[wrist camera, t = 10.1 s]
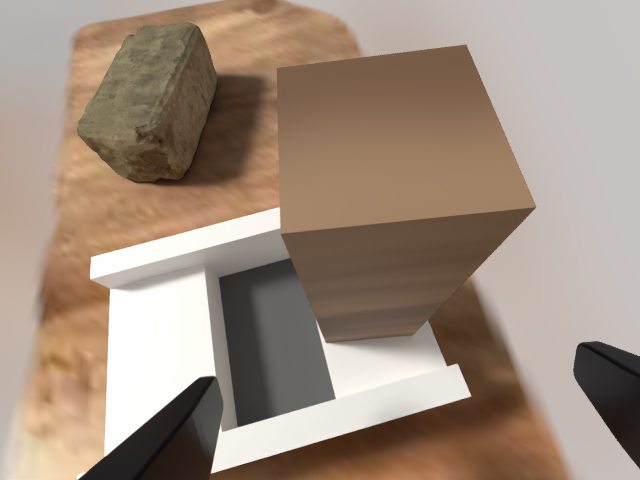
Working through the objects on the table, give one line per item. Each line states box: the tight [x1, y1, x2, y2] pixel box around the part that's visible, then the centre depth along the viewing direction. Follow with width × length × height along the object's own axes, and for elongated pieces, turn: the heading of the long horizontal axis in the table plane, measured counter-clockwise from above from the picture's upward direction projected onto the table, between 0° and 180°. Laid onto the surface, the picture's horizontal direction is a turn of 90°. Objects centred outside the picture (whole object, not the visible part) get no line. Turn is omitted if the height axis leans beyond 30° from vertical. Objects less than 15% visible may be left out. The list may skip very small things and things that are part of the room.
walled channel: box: [77, 207, 471, 480], centre depth 16 cm, size 10×15×4 cm
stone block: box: [77, 22, 217, 182], centre depth 24 cm, size 6×12×5 cm, turn 175°
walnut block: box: [277, 45, 536, 343], centre depth 11 cm, size 4×4×11 cm
